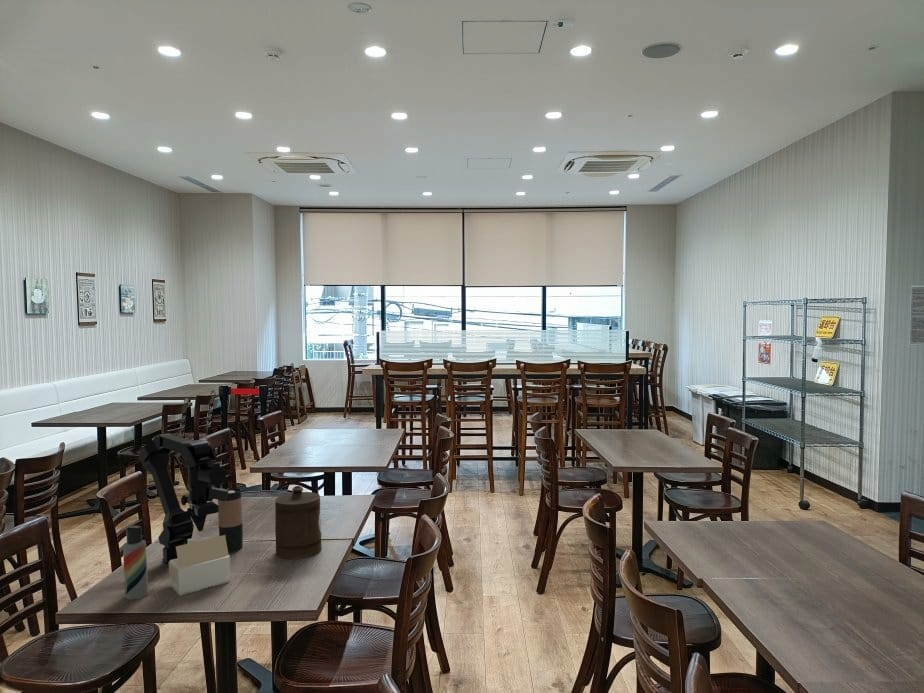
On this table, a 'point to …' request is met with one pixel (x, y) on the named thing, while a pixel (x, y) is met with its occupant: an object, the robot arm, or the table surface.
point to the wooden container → (297, 524)
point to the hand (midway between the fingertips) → (200, 531)
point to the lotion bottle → (135, 564)
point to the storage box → (199, 575)
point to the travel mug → (231, 519)
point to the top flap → (201, 551)
